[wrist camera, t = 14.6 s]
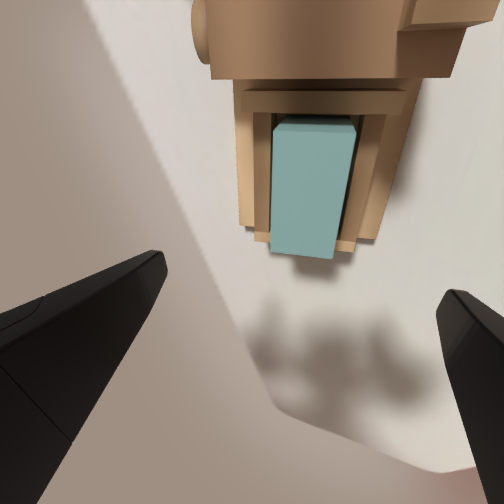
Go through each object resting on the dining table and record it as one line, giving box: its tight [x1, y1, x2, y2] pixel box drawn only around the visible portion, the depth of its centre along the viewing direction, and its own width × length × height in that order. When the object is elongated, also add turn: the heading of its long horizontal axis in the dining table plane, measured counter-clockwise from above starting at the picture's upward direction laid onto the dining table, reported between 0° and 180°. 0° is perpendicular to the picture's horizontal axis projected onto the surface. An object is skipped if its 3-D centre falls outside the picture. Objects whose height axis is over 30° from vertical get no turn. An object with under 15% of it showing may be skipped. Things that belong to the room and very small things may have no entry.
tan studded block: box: [191, 0, 500, 80], centre depth 11 cm, size 10×4×7 cm, turn 91°
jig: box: [233, 78, 423, 252], centre depth 15 cm, size 10×17×3 cm, turn 0°
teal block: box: [270, 115, 356, 259], centre depth 15 cm, size 4×6×5 cm, turn 1°
